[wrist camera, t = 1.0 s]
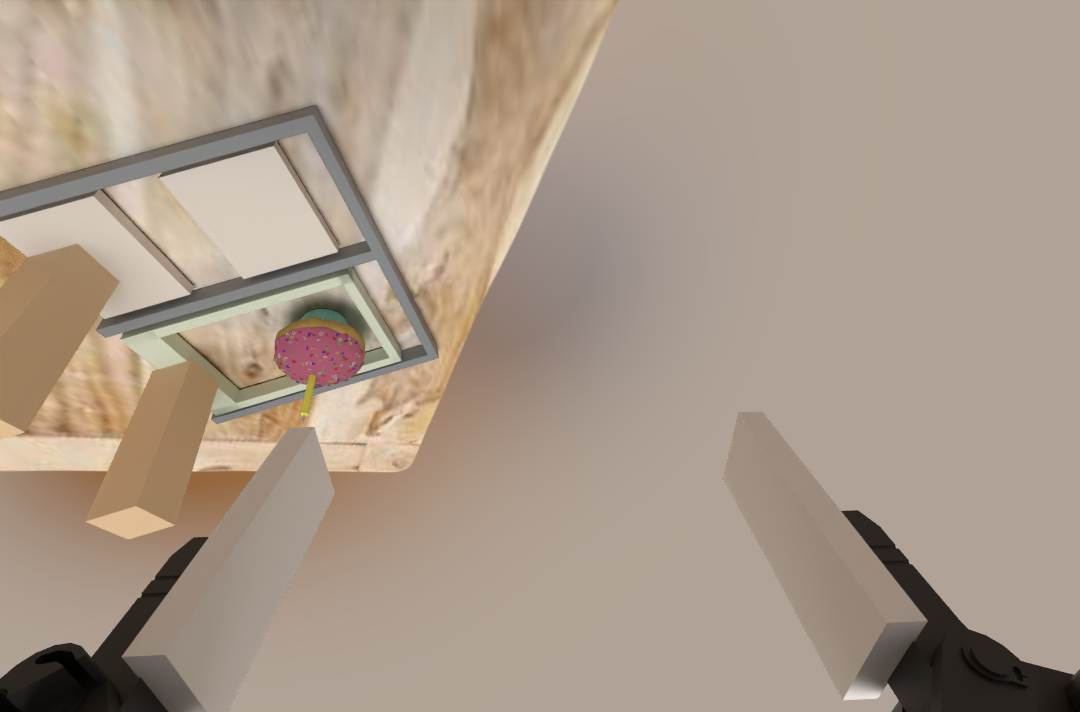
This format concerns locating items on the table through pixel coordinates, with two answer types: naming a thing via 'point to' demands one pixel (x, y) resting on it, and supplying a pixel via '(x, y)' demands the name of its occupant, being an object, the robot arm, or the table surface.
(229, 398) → the pale green frame
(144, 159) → the board
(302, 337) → the cupcake
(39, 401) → the broken strip
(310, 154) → the table surface
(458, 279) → the table surface
